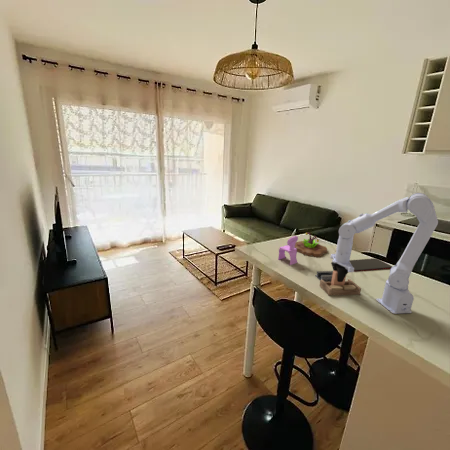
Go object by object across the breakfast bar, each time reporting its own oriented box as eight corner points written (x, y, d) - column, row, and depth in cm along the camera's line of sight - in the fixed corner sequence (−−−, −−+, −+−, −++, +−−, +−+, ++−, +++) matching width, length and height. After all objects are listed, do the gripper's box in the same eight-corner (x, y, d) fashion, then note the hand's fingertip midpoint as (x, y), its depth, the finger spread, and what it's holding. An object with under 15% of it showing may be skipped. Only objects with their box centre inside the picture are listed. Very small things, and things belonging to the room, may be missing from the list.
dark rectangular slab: (337, 260, 138) (375, 257, 143) (337, 263, 138) (375, 260, 144) (353, 270, 126) (394, 267, 132) (352, 273, 127) (393, 269, 132)
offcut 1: (341, 293, 106) (342, 287, 105) (330, 294, 105) (331, 287, 104) (339, 291, 108) (340, 285, 107) (328, 291, 107) (329, 285, 106)
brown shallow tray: (359, 294, 106) (361, 288, 105) (328, 295, 104) (329, 289, 103) (348, 285, 113) (349, 279, 112) (319, 285, 112) (320, 279, 111)
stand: (339, 281, 116) (340, 276, 115) (321, 281, 115) (321, 276, 114) (332, 275, 122) (333, 270, 121) (315, 275, 121) (315, 270, 120)
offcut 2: (354, 293, 107) (356, 287, 106) (343, 293, 106) (345, 287, 105) (351, 291, 109) (353, 284, 108) (341, 291, 108) (342, 285, 107)
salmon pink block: (343, 289, 110) (346, 272, 107) (332, 289, 109) (335, 272, 107) (340, 286, 112) (344, 270, 109) (330, 286, 111) (333, 270, 109)
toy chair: (285, 256, 142) (288, 231, 138) (298, 262, 136) (302, 235, 132) (276, 259, 137) (278, 233, 133) (288, 265, 131) (292, 238, 127)
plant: (302, 242, 168) (304, 226, 164) (330, 251, 154) (333, 233, 151) (286, 249, 154) (288, 232, 151) (316, 259, 141) (319, 240, 138)
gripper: (326, 244, 112) (321, 272, 116) (344, 258, 98) (338, 288, 102) (340, 244, 113) (335, 272, 116) (361, 257, 99) (355, 288, 103)
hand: (338, 279), depth 109 cm, fingers closed on salmon pink block, 2 cm apart
